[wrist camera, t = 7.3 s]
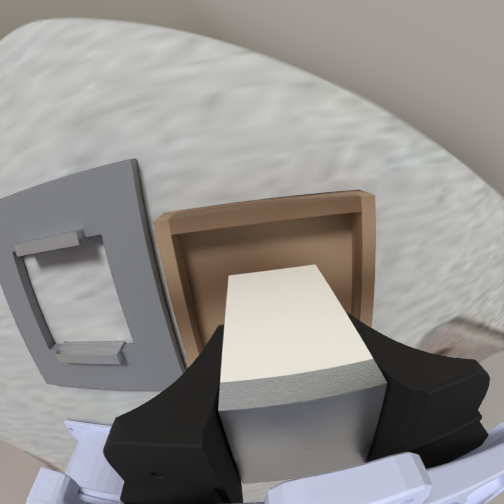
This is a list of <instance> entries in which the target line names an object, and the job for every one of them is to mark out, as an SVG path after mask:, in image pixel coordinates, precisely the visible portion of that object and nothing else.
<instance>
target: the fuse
mask: <svg viewBox="0 0 504 504" xmlns="http://www.w3.org/2000/svg"><path fill="white" fill-rule="evenodd" d="M386 387H387V382H386V380H385V378H384V376H383V375H382V373H381V371H380V369H379V368H378V366H377V364H376V362H375V361H374V359H373V357H372V356H371V354H370V352H369V350H368V349H367V347H366V345H365V344H364V342H363V340H362V339H361V337H360V335H359V334H358V332H357V330H356V329H355V327H354V325H353V324H352V322H351V320H350V319H349V317H348V315H347V314H346V312H345V311H344V309H343V307H342V306H341V304H340V302H339V301H338V299H337V298H336V296H335V294H334V293H333V291H332V290H331V288H330V286H329V285H328V283H327V282H326V280H325V279H324V277H323V275H322V274H321V272H320V271H319V269H318V268H317V266H316V264H315V265H307V266H300V267H292V268H285V269H277V270H269V271H262V272H254V273H246V274H238V275H229V278H228V290H227V301H226V313H225V325H224V337H223V350H222V364H221V377H220V391H219V406H218V412H219V415H220V418H221V421H222V424H223V428H224V431H225V434H226V437H227V440H228V443H229V446H230V449H231V452H232V454H233V457H234V460H235V463H236V466H237V469H238V471H239V474H240V477H241V480H242V482H243V484H244V483H258V482H268V481H278V480H286V479H293V478H299V477H304V476H310V475H315V474H321V473H326V472H331V471H335V470H340V469H344V468H348V467H352V466H356V465H360V464H364V463H366V460H367V457H368V454H369V451H370V447H371V444H372V441H373V437H374V434H375V430H376V427H377V423H378V420H379V416H380V412H381V408H382V404H383V400H384V395H385V391H386Z"/></svg>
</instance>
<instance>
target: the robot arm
mask: <svg viewBox="0 0 504 504" xmlns="http://www.w3.org/2000/svg"><path fill="white" fill-rule="evenodd" d="M344 311H345V310H344ZM345 312H346V311H345ZM346 314H347V315H348V317H349V319H350V320H351V322H352V324H353V325H354V327H355V329H356V330H357V332H358V334H359V335H360V337H361V339H362V340H363V342H364V344H365V345H366V347H367V349H368V350H369V352H370V354H371V356H372V357H373V359H374V361H375V362H376V364H377V366H378V368H379V369H380V371H381V373H382V375H383V376H384V378H385V380H386V382H387V387H386V391H385V395H384V400H383V404H382V408H381V412H380V416H379V420H378V423H377V427H376V430H375V434H374V437H373V441H372V444H371V447H370V451H369V454H368V457H367V460H366V463H364V464H360V465H356V466H352V467H348V468H344V469H340V470H335V471H331V472H326V473H321V474H315V475H310V476H304V477H300V478H296V479H292V480H288V481H284V482H282V483H280V484H278V485H276V486H275V487H273V488H271V489H270V490H268V492H267V494H266V496H265V498H264V502H253V503H243V496H242V484H241V477H240V474H239V471H238V469H237V466H236V463H235V460H234V457H233V454H232V452H231V449H230V446H229V443H228V440H227V437H226V434H225V431H224V428H223V424H222V421H221V418H220V415H219V412H218V406H219V391H220V377H221V364H222V350H223V337H224V325H219V326H218V327H217V328H216V330H215V332H214V333H213V335H212V336H211V338H210V340H209V341H208V343H207V344H206V346H205V347H204V349H203V350H202V351H201V353H200V354H199V356H198V357H197V358H196V359H195V360H194V362H193V363H192V364H191V365H190V367H189V368H188V369H187V370H186V371H185V372H184V373H183V374H182V375H181V376H180V377H179V378H178V379H177V380H176V381H175V382H174V383H172V384H171V385H170V386H169V387H167V388H166V389H165V390H164V391H162V392H161V393H160V394H158V395H157V396H156V397H154V398H153V399H151V400H149V401H148V402H146V403H144V404H143V405H141V406H139V407H137V408H136V409H133V410H131V411H129V412H127V413H125V414H123V415H121V416H119V417H116V418H115V421H114V423H113V425H112V426H108V425H100V424H92V423H85V422H78V421H72V420H66V421H65V423H64V424H65V426H66V427H67V428H68V430H69V431H70V432H71V434H72V435H73V436H74V438H75V439H76V440H77V442H78V443H77V446H76V448H75V450H74V452H73V455H72V457H71V460H70V462H69V464H68V467H67V469H66V472H65V474H64V473H61V472H58V471H55V470H51V469H48V468H45V467H41V469H40V471H39V473H38V476H37V478H36V480H35V483H34V485H33V487H32V489H31V492H30V494H29V496H28V499H27V501H26V504H486V503H487V502H488V501H490V500H491V499H493V498H494V497H496V496H497V495H498V494H500V493H501V492H502V491H504V422H502V423H500V424H499V425H497V426H495V427H494V428H492V429H490V430H489V431H486V430H485V429H484V427H483V426H482V424H481V423H480V420H481V419H482V415H481V414H480V412H479V411H478V409H479V406H480V405H481V403H482V401H483V399H484V397H485V395H486V393H487V390H488V387H489V382H490V377H489V375H488V373H487V372H486V371H485V370H484V369H483V367H482V366H481V365H480V364H479V363H478V362H477V361H476V360H474V359H461V358H452V357H446V356H441V355H436V354H432V353H428V352H424V351H421V350H418V349H415V348H412V347H409V346H406V345H404V344H402V343H399V342H397V341H395V340H392V339H390V338H388V337H387V336H385V335H383V334H381V333H379V332H377V331H376V330H374V329H372V328H371V327H369V326H367V325H366V324H364V323H363V322H361V321H360V320H358V319H357V318H355V317H354V316H352V315H351V314H349V313H348V312H346Z"/></svg>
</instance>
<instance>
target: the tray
mask: <svg viewBox="0 0 504 504" xmlns="http://www.w3.org/2000/svg"><path fill="white" fill-rule="evenodd" d="M153 224H154V229H155V234H156V238H157V243H158V248H159V252H160V257H161V261H162V266H163V270H164V274H165V279H166V283H167V287H168V291H169V295H170V299H171V303H172V307H173V310H174V314H175V318H176V321H177V325H178V329H179V332H180V336H181V339H182V343H183V346H184V350H185V353H186V356H187V359H188V363H189V366H190V365H191V364H192V363H193V362H194V360H195V359H196V358H197V357H198V356H199V354H200V353H201V351H202V350H203V349H204V347H205V346H206V344H207V343H208V341H209V340H210V338H211V336H212V335H213V333H214V332H215V330H216V328H217V327H218V326H219V325H225V313H226V301H227V290H228V278H229V275H238V274H246V273H254V272H262V271H269V270H277V269H285V268H292V267H300V266H307V265H315V264H316V266H317V268H318V269H319V271H320V272H321V274H322V275H323V277H324V279H325V280H326V282H327V283H328V285H329V286H330V288H331V290H332V291H333V293H334V294H335V296H336V298H337V299H338V301H339V302H340V304H341V306H342V307H343V309H344V310H345V311H346V312H348V313H349V314H351V315H352V316H354V317H355V318H357V319H358V320H360V321H361V322H363V323H364V324H366V325H367V326H369V327H371V326H372V314H373V300H374V283H375V252H376V216H375V195H373V194H370V193H367V192H364V191H361V190H349V191H337V192H326V193H316V194H306V195H296V196H287V197H278V198H269V199H260V200H252V201H244V202H237V203H229V204H222V205H214V206H207V207H200V208H194V209H187V210H180V211H174V212H168V213H164V214H162V215H161V216H160V217H159V218H157V219H156V220H155V221H154V222H153Z"/></svg>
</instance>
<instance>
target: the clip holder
mask: <svg viewBox="0 0 504 504" xmlns="http://www.w3.org/2000/svg"><path fill="white" fill-rule="evenodd" d="M95 235H102V239H103V243H104V248H105V251H106V255H107V259H108V263H109V267H110V270H111V274H112V277H113V281H114V284H115V288H116V291H117V294H118V297H119V301H120V304H121V307H122V310H123V313H124V316H125V319H126V322H127V325H128V328H129V330H130V333H131V336H132V339H133V341H134V343H129V344H125V342H124V341H108V342H64V343H63V344H54V342H53V340H52V337H51V335H50V333H49V331H48V328H47V326H46V324H45V321H44V319H43V316H42V314H41V311H40V309H39V306H38V304H37V301H36V298H35V296H34V293H33V290H32V287H31V284H30V281H29V278H28V275H27V272H26V269H25V266H24V263H23V259H22V256H23V255H28V254H34V253H39V252H44V251H49V250H55V249H60V248H66V247H71V246H77V245H80V244H82V243H83V242H85V241H86V240H88V239H89V238H91V237H92V236H95ZM0 283H1V286H2V289H3V292H4V294H5V297H6V300H7V302H8V305H9V307H10V310H11V312H12V315H13V317H14V320H15V322H16V324H17V326H18V329H19V331H20V333H21V335H22V337H23V340H24V342H25V344H26V346H27V348H28V350H29V352H30V354H31V356H32V358H33V360H34V362H35V363H36V365H37V367H38V369H39V371H40V373H41V374H42V376H43V378H44V380H45V381H46V383H47V384H52V385H60V386H69V387H80V388H92V389H108V390H136V391H164V390H165V389H166V388H167V387H169V386H170V385H171V384H172V383H174V382H175V381H176V380H177V379H178V378H179V377H180V376H181V375H182V374H183V373H184V372H185V371H186V370H185V366H184V363H183V360H182V357H181V354H180V351H179V347H178V344H177V341H176V337H175V334H174V331H173V327H172V324H171V320H170V317H169V313H168V309H167V306H166V302H165V298H164V294H163V290H162V286H161V282H160V278H159V274H158V270H157V266H156V262H155V257H154V253H153V248H152V244H151V239H150V234H149V229H148V224H147V219H146V214H145V209H144V204H143V198H142V192H141V187H140V181H139V174H138V168H137V161H136V159H129V160H124V161H120V162H116V163H112V164H108V165H104V166H100V167H97V168H93V169H89V170H86V171H82V172H79V173H75V174H72V175H69V176H65V177H62V178H59V179H56V180H53V181H49V182H46V183H43V184H40V185H37V186H34V187H32V188H29V189H26V190H23V191H20V192H18V193H15V194H12V195H10V196H7V197H5V198H2V199H0Z"/></svg>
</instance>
